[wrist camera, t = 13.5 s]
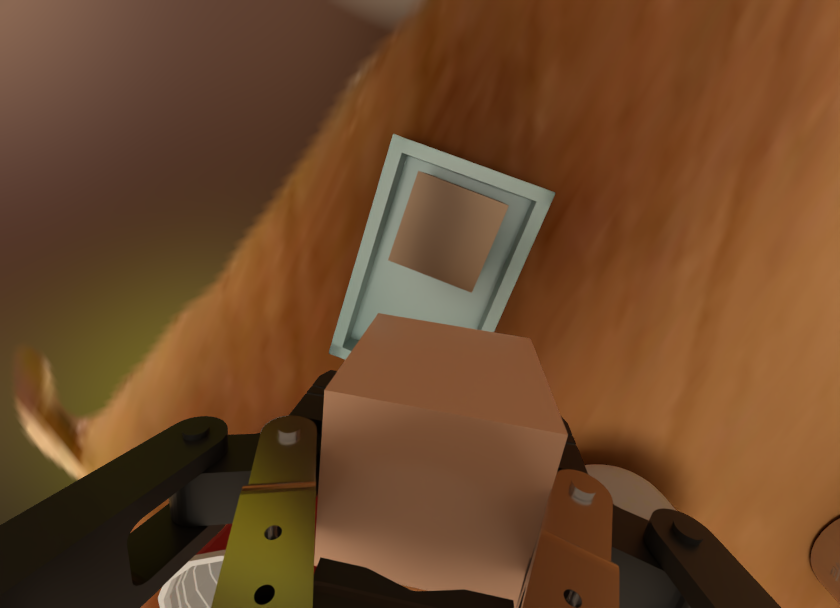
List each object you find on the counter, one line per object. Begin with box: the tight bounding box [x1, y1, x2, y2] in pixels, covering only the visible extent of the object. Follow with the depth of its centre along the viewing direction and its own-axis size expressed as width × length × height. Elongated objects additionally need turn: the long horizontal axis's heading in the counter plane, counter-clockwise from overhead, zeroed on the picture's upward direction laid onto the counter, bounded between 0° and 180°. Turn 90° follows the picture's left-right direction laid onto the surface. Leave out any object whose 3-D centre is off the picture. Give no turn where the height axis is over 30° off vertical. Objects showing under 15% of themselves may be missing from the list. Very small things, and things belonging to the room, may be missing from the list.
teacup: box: [585, 464, 675, 520], centre depth 27 cm, size 14×11×8 cm
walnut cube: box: [388, 171, 509, 293], centre depth 23 cm, size 5×5×5 cm
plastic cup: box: [158, 495, 318, 608], centre depth 28 cm, size 11×11×12 cm
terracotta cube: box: [314, 313, 568, 608], centre depth 11 cm, size 5×5×5 cm
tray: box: [329, 134, 555, 360], centre depth 26 cm, size 10×15×2 cm, turn 161°
